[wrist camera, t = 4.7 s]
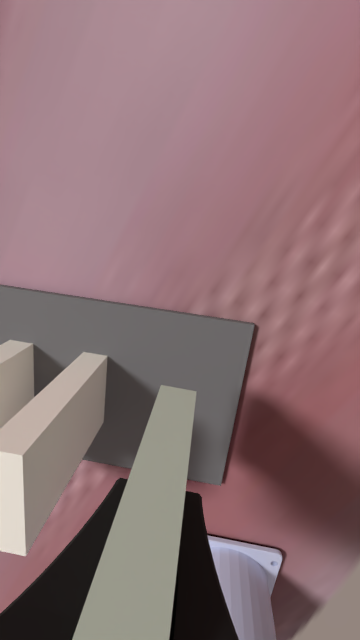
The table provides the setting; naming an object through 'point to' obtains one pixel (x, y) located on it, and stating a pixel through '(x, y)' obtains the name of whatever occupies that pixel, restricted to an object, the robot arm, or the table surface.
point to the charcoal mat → (137, 366)
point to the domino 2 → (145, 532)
